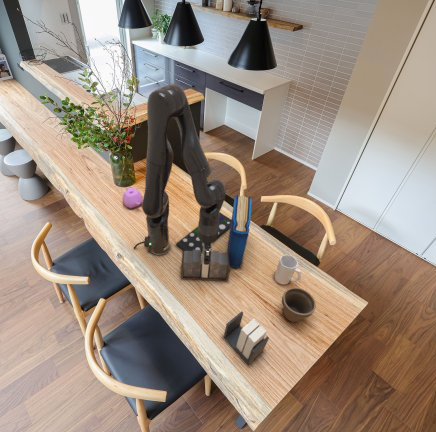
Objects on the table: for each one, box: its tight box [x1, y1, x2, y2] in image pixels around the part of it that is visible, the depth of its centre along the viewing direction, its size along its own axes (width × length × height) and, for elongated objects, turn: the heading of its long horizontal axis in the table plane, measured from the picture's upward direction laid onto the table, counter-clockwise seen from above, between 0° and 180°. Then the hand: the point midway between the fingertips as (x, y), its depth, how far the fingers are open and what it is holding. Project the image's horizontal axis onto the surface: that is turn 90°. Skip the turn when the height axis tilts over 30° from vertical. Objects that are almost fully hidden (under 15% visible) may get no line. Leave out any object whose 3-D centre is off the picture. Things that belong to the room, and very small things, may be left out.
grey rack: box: [180, 250, 231, 282], centre depth 128 cm, size 19×8×12 cm, turn 86°
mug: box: [274, 254, 302, 285], centre depth 124 cm, size 10×7×12 cm, turn 42°
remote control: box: [175, 211, 232, 253], centre depth 147 cm, size 11×30×2 cm, turn 135°
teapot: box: [122, 186, 144, 209], centre depth 160 cm, size 10×15×9 cm
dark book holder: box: [223, 310, 270, 366], centre depth 104 cm, size 12×8×15 cm, turn 38°
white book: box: [201, 248, 210, 278], centre depth 126 cm, size 3×6×14 cm, turn 176°
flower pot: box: [281, 287, 317, 322], centre depth 114 cm, size 12×11×10 cm
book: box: [226, 195, 253, 268], centre depth 131 cm, size 22×7×25 cm, turn 168°
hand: (206, 255), depth 123 cm, fingers open, 8 cm apart
